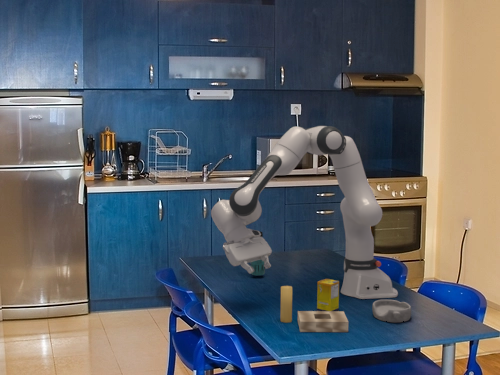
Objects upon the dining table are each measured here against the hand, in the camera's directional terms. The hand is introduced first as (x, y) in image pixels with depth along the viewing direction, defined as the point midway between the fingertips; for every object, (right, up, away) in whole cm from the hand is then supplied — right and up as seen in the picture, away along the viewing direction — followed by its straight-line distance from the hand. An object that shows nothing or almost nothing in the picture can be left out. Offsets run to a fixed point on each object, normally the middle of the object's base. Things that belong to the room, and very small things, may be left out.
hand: (260, 269), depth 256 cm
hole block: (+21, -18, -11) cm, 30 cm away
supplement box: (+25, -16, +8) cm, 30 cm away
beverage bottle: (0, -10, +56) cm, 57 cm away
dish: (+47, -17, 0) cm, 50 cm away
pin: (+9, -17, -5) cm, 20 cm away
